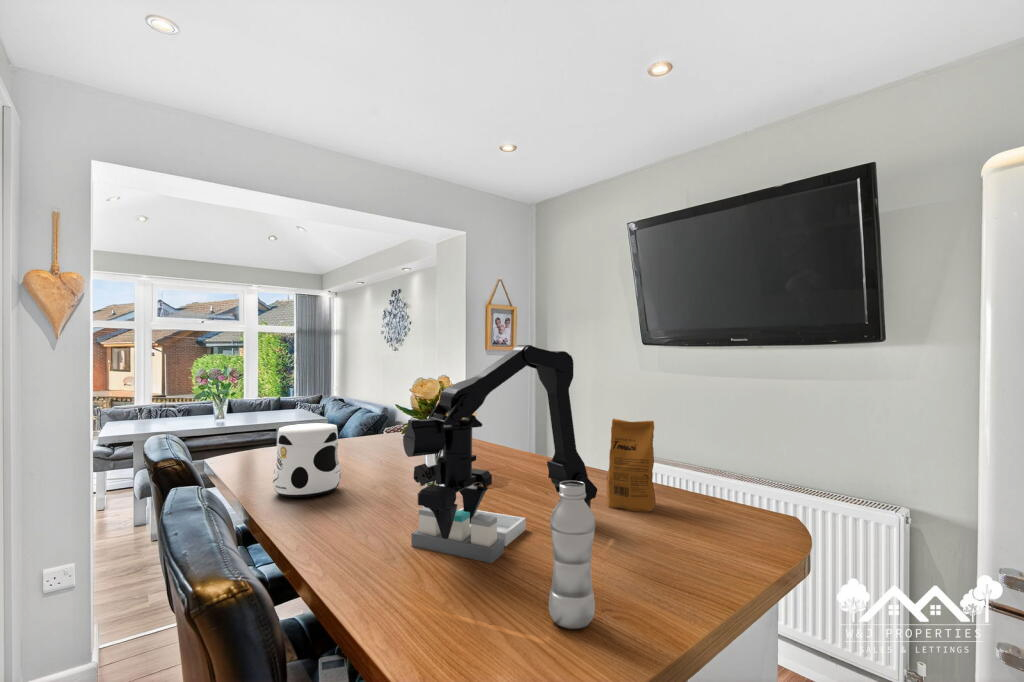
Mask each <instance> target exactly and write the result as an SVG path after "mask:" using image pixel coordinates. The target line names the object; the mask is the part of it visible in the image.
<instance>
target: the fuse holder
mask: <svg viewBox="0 0 1024 682" xmlns="http://www.w3.org/2000/svg"><path fill="white" fill-rule="evenodd" d="M411 547H415V548H419V549H424V550H427V551H433V552H439V553H442V554H443V553H444V554H447V555H451V556H457V557H461V558H467V559H470V560H474V561H475V560H476V561H480V562H484V563H489V564H493V563H494V562H495V561H496V560H497V559H499V558H500V557H501V556H502V555H503V554H504V553H505V550H504V549H505V546H504V540H503V539H498V538H497V542H496V543H495V544H494V545H492V546H491V547H487V546H482V545H477V544H472V543H471V533H470V537H468V538H467V539H465V540H464V541H457V540H452V539H443V538H442V535H441V534H439V535H437V536H432V535H427V534H422V533H419V528H418V529H416V530H415V531H412V532H411Z"/></svg>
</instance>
